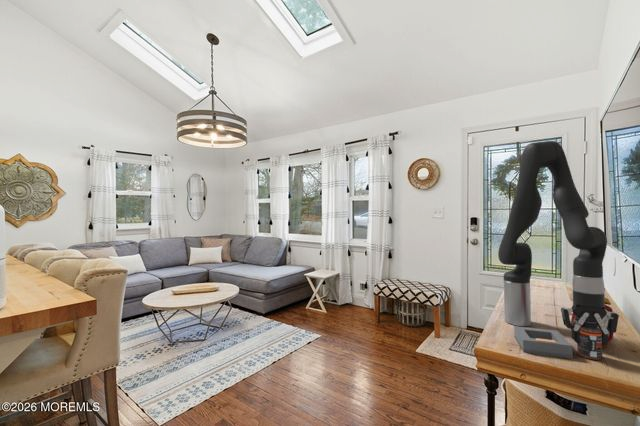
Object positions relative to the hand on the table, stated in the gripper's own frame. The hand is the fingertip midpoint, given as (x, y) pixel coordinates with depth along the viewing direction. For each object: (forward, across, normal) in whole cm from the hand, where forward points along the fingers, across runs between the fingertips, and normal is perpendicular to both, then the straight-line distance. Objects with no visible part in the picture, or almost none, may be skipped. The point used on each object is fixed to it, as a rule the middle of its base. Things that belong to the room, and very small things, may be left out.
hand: (589, 343), depth 95 cm
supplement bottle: (+4, 0, 0) cm, 4 cm away
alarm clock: (+4, -4, -12) cm, 14 cm away
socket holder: (+4, +12, -3) cm, 13 cm away
